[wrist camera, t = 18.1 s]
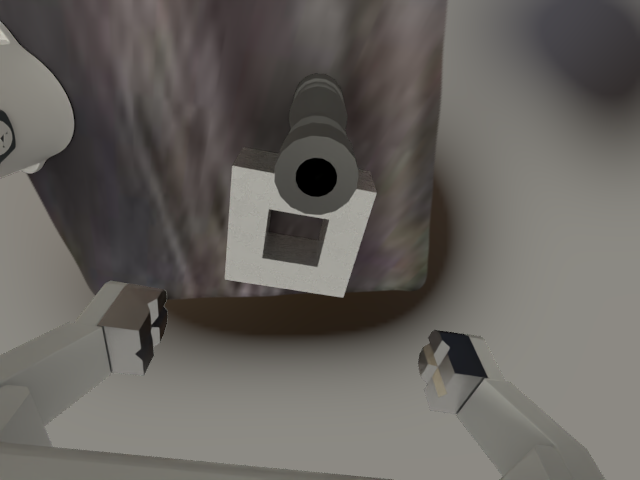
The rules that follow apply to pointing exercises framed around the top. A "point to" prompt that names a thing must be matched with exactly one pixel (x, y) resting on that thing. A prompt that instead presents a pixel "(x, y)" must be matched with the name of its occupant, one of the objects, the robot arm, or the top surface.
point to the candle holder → (317, 150)
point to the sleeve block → (283, 250)
